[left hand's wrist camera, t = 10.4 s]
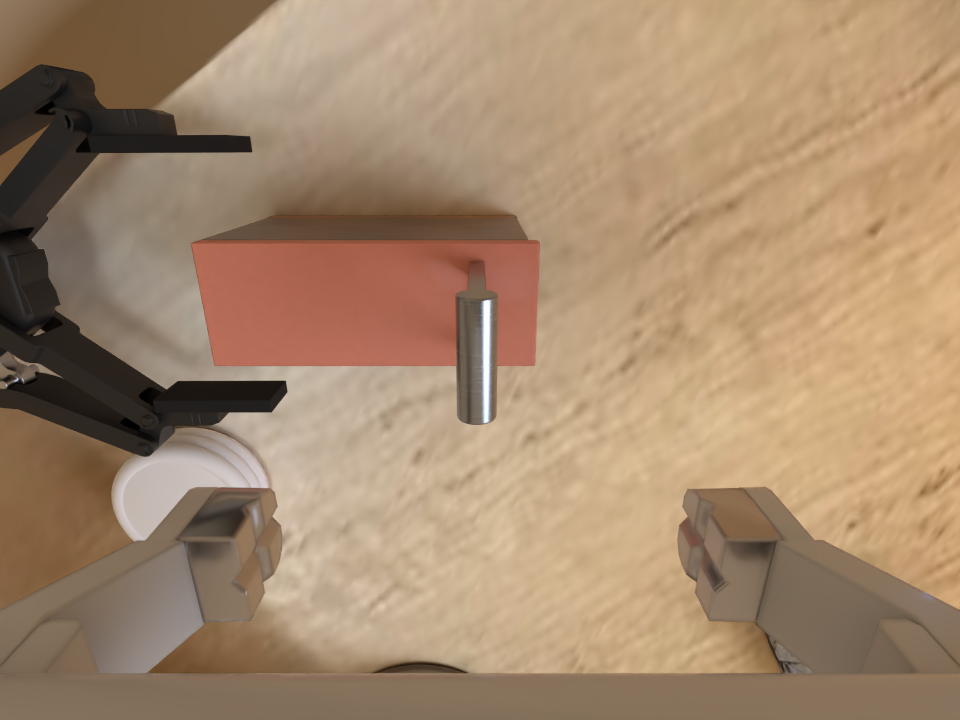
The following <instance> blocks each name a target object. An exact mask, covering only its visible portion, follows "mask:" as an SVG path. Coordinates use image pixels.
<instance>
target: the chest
mask: <svg viewBox="0 0 960 720" xmlns="http://www.w3.org/2000/svg"><path fill="white" fill-rule="evenodd" d="M202 240H528V238H527V236H526V234H525V233H524V231H523V229H522V227H521V225H520V224H519V222H518V220H517V217H516V216H271V217H268V218H267V219H264V220H261V221H257V222H254V223H251V224H248V225H245V226H242V227H239V228H236V229H233V230H230V231H227V232H224V233H221V234H218V235H215V236H212V237H209V238H205V239H202Z"/></svg>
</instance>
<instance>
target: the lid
mask: <svg viewBox="0 0 960 720" xmlns="http://www.w3.org/2000/svg"><path fill="white" fill-rule="evenodd" d="M191 246H192V251H193V256H194V262H195V267H196V272H197V277H198V282H199V287H200V293H201V298H202V303H203V308H204V313H205V319H206V324H207V329H208V334H209V339H210V344H211V350H212V355H213V360H214V365H215V366H456V373H457V416H458V418H459V420H460V421H462V422H464V423H467V424H472V425H482V424H487V423H490V422H492V421H493V420H494V419H495V418H496V412H497V366H535V352H536V327H537V303H538V278H539V253H540V243H539V242H538V240H199V241H196V242H193V243H191Z"/></svg>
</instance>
